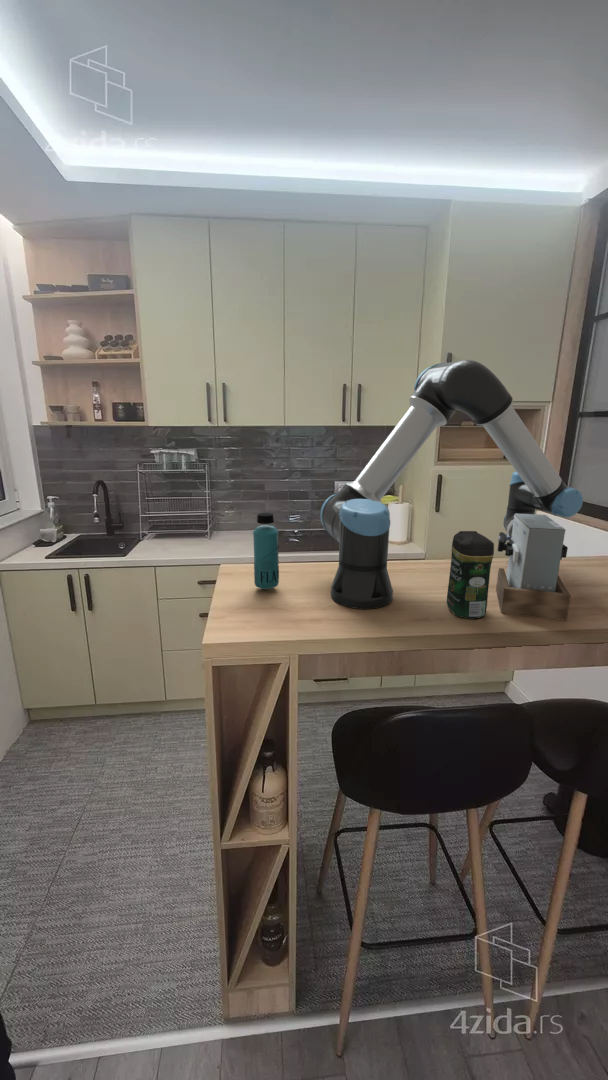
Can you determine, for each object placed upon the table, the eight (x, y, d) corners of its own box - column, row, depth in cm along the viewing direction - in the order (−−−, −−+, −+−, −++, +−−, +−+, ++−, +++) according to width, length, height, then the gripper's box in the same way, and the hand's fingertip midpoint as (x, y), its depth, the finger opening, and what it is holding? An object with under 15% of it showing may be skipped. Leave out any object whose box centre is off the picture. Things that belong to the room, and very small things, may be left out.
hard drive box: (553, 614, 105) (566, 529, 99) (517, 611, 107) (528, 528, 101) (535, 588, 120) (546, 513, 114) (503, 586, 121) (513, 512, 115)
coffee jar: (441, 602, 111) (448, 528, 106) (474, 602, 111) (483, 528, 106) (455, 620, 102) (464, 540, 97) (490, 620, 102) (501, 540, 97)
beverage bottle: (257, 595, 114) (255, 517, 108) (251, 586, 120) (249, 511, 115) (282, 592, 116) (281, 515, 111) (275, 583, 122) (274, 509, 117)
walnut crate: (501, 612, 106) (504, 588, 104) (495, 589, 119) (498, 568, 117) (566, 620, 102) (570, 595, 100) (553, 596, 115) (557, 573, 113)
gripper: (563, 550, 124) (585, 579, 103) (481, 542, 130) (486, 569, 109) (568, 523, 122) (591, 547, 101) (484, 517, 128) (490, 539, 107)
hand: (537, 558), depth 105 cm, fingers closed on hard drive box, 8 cm apart
